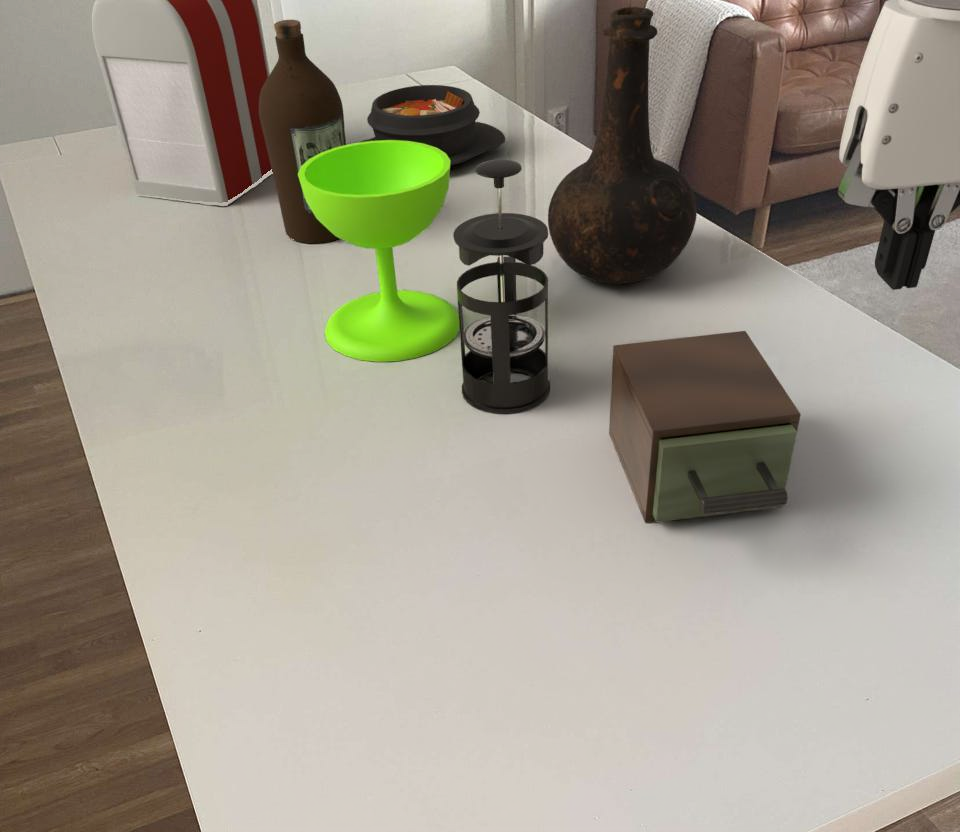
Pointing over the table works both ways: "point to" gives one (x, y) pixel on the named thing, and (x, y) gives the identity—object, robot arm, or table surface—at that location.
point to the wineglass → (382, 241)
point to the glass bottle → (623, 177)
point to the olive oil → (298, 127)
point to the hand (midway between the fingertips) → (895, 279)
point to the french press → (503, 305)
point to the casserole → (433, 121)
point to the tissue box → (185, 93)
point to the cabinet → (687, 398)
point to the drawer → (723, 472)
